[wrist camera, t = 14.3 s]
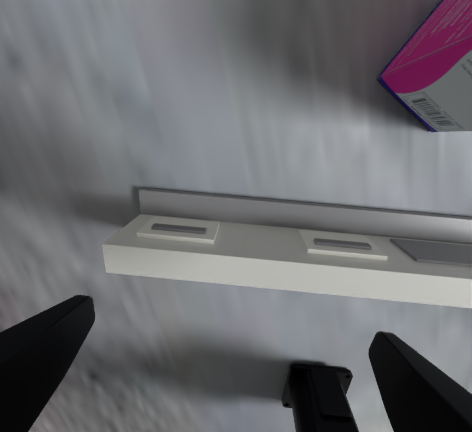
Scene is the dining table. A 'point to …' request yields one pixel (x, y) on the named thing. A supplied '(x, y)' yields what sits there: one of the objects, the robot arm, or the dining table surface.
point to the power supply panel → (297, 247)
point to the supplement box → (436, 69)
